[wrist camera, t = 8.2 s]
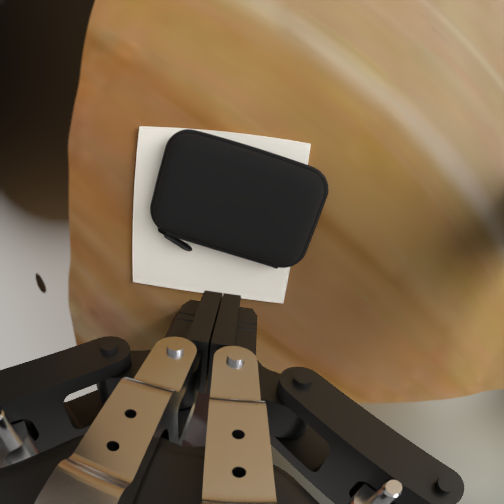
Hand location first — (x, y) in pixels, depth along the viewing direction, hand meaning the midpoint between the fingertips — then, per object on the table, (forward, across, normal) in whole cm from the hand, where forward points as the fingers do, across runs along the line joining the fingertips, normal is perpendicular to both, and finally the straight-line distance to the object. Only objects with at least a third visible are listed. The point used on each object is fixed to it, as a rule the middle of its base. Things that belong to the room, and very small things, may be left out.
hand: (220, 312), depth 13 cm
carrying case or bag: (+16, -6, 0) cm, 17 cm away
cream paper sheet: (+18, +3, 0) cm, 18 cm away
